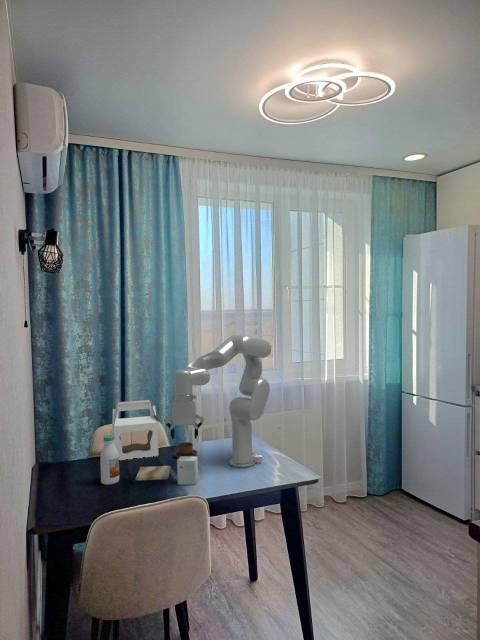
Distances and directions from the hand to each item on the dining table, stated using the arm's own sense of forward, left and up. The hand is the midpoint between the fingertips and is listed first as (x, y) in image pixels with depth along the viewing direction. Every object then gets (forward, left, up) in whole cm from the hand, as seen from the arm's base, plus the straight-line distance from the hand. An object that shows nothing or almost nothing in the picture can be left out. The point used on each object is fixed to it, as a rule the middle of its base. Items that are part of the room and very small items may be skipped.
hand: (184, 438), depth 200 cm
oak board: (+15, -11, -19) cm, 26 cm away
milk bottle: (+33, -4, -19) cm, 38 cm away
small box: (-1, +1, -19) cm, 19 cm away
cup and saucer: (+2, -36, -19) cm, 41 cm away
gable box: (+28, -41, -19) cm, 53 cm away
